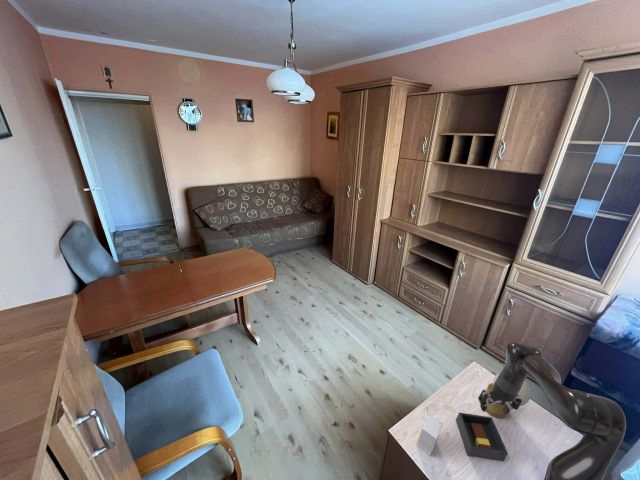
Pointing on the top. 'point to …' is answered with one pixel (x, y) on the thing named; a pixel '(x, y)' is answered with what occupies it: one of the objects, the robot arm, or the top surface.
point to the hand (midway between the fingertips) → (493, 411)
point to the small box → (429, 434)
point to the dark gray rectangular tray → (492, 435)
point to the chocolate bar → (479, 436)
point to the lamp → (497, 408)
